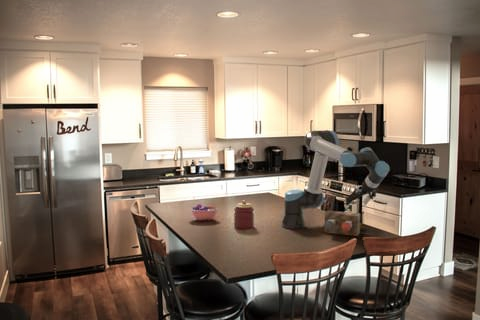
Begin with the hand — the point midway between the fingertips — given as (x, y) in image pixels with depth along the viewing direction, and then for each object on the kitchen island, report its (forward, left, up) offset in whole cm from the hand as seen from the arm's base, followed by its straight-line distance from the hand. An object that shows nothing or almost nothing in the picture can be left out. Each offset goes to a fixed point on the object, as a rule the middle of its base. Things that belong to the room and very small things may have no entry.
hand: (354, 205), depth 257 cm
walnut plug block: (-9, +7, -19) cm, 22 cm away
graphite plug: (-14, -1, -14) cm, 20 cm away
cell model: (-102, -1, -19) cm, 103 cm away
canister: (-69, -7, -19) cm, 71 cm away
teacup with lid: (-7, +22, -19) cm, 30 cm away
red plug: (-4, -1, -14) cm, 15 cm away
